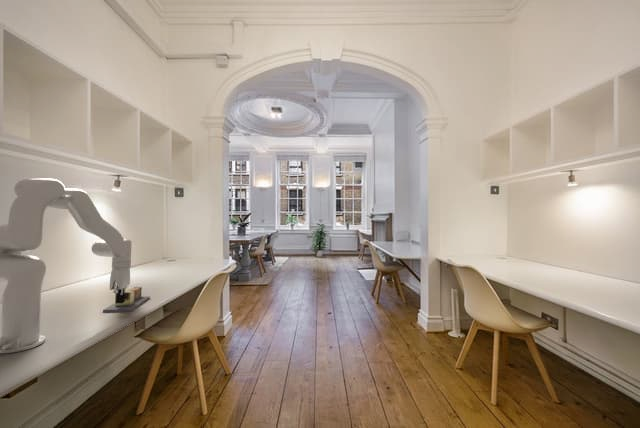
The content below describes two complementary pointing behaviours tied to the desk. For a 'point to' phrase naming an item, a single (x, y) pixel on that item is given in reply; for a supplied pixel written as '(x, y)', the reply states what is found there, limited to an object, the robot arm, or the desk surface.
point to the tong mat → (127, 308)
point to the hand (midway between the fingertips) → (120, 302)
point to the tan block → (126, 299)
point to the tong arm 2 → (137, 292)
